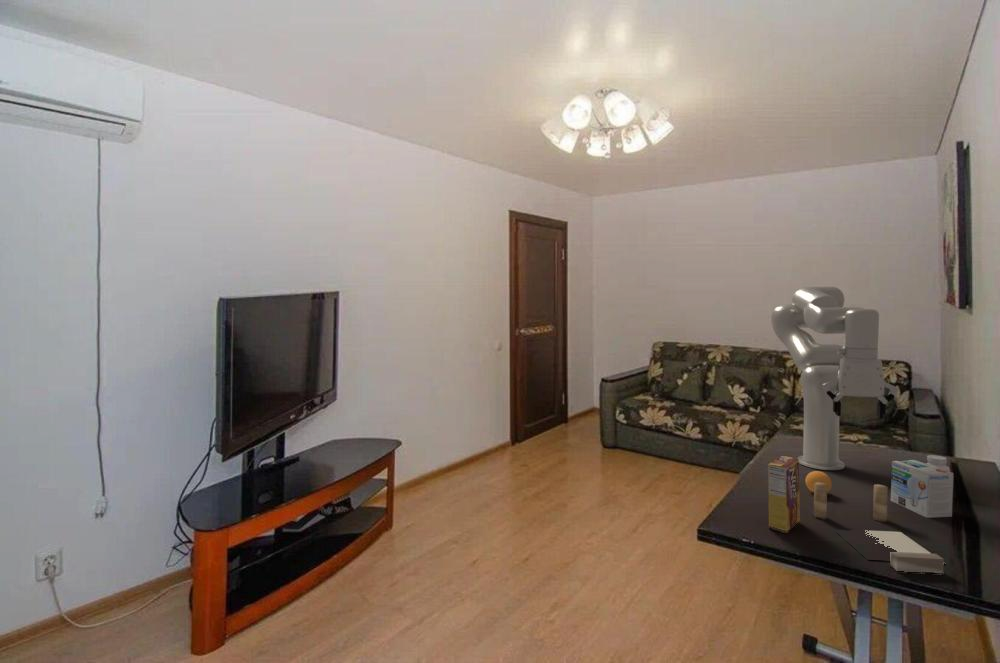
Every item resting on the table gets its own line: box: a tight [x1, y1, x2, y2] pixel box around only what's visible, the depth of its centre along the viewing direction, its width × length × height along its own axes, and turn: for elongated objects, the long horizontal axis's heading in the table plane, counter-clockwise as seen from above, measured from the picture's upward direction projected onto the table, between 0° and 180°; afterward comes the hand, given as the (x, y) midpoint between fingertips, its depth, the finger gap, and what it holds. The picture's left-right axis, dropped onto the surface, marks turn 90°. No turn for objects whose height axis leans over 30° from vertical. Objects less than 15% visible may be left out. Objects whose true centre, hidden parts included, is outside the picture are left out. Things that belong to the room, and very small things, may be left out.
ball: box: [805, 470, 832, 493], centre depth 137 cm, size 6×6×6 cm
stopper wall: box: [889, 552, 945, 574], centre depth 97 cm, size 2×8×3 cm, turn 81°
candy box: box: [767, 455, 801, 531], centre depth 117 cm, size 9×4×15 cm, turn 133°
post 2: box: [872, 484, 889, 523], centre depth 120 cm, size 3×3×8 cm
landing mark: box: [864, 529, 932, 554], centre depth 107 cm, size 14×14×1 cm
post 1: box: [813, 482, 828, 519], centre depth 122 cm, size 3×3×8 cm
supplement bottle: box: [924, 454, 951, 472], centre depth 136 cm, size 5×5×10 cm
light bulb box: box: [890, 459, 954, 519], centre depth 126 cm, size 11×7×11 cm, turn 5°
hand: (858, 416), depth 139 cm, fingers open, 9 cm apart
